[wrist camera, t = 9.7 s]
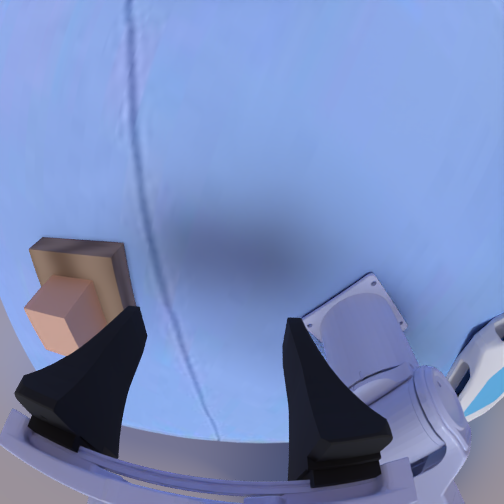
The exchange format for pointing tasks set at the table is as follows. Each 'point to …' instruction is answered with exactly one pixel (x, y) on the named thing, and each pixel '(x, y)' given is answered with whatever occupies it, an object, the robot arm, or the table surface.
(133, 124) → the table surface
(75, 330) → the cube
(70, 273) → the base block
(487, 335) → the white step stool
